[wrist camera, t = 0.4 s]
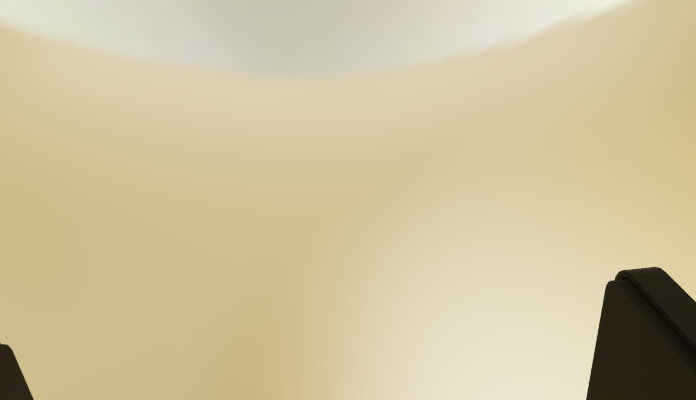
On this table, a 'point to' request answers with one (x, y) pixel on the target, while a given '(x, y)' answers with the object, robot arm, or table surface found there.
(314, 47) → the table surface
